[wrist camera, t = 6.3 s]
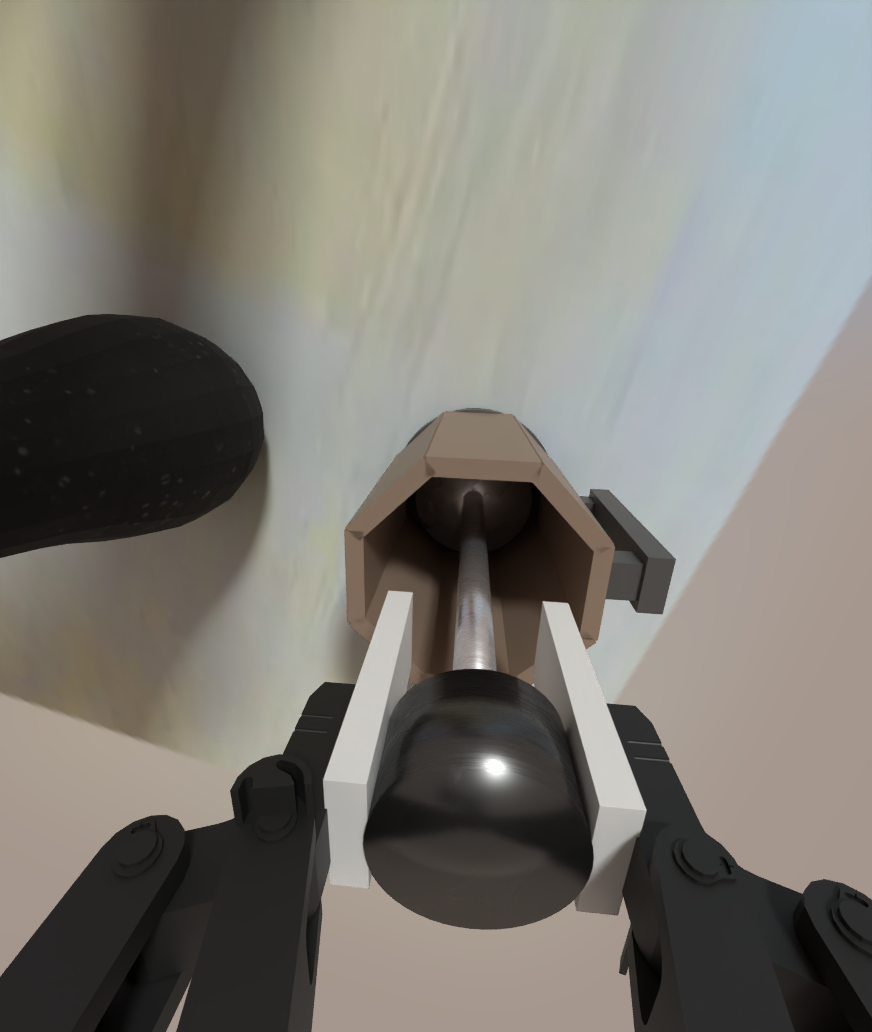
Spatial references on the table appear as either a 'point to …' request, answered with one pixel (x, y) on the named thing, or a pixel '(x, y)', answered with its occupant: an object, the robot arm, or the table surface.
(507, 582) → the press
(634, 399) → the table surface
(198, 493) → the bottle
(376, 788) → the plunger
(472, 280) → the table surface
